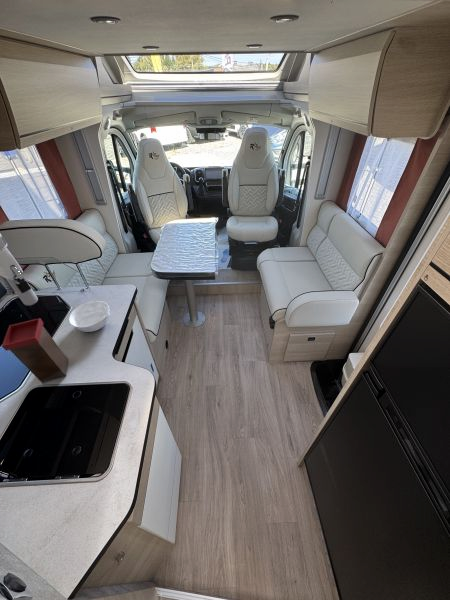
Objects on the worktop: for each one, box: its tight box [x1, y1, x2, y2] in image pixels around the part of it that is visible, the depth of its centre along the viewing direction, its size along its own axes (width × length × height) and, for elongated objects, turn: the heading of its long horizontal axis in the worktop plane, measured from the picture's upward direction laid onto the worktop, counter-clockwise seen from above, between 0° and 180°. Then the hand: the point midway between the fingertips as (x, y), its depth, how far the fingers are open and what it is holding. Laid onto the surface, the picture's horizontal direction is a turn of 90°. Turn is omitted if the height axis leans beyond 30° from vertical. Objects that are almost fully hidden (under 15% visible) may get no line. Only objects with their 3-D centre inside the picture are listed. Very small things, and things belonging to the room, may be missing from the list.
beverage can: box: [6, 274, 39, 306], centre depth 93 cm, size 5×5×12 cm
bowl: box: [68, 300, 111, 333], centre depth 125 cm, size 18×18×7 cm
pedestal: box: [9, 326, 69, 384], centre depth 100 cm, size 9×9×23 cm
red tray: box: [1, 317, 44, 352], centre depth 91 cm, size 10×10×2 cm
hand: (21, 288), depth 93 cm, fingers closed on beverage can, 4 cm apart
